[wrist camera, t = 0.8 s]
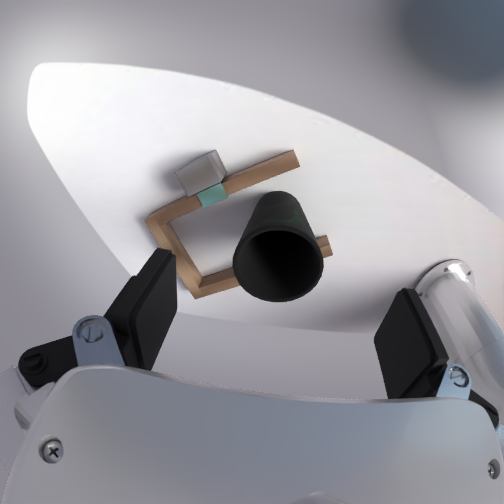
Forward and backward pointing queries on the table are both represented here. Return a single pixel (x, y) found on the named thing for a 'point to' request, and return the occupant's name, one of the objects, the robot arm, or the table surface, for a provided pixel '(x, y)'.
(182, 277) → the beam slot
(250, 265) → the cup
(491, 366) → the robot arm
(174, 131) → the table surface
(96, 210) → the table surface
